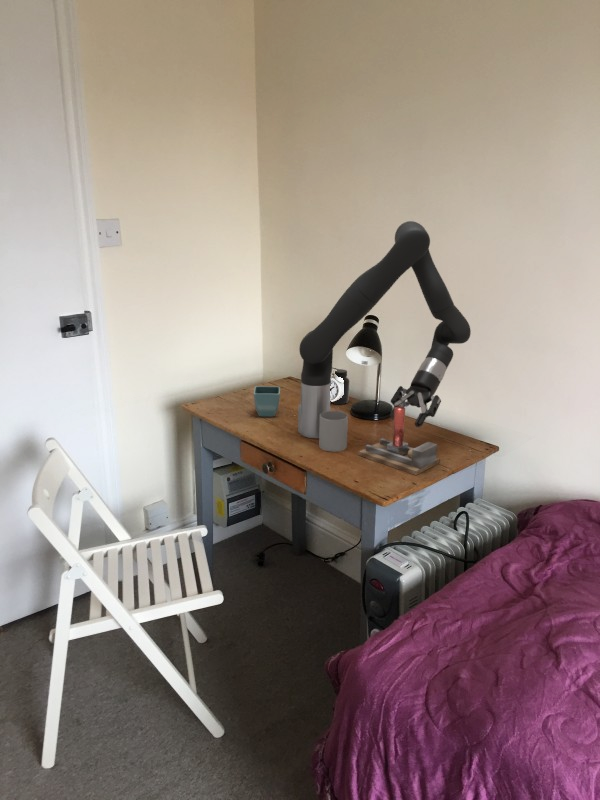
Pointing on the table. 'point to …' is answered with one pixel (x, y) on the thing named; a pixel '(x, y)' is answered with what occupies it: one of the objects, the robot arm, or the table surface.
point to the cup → (333, 431)
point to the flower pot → (266, 400)
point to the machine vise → (409, 462)
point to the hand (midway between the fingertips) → (404, 422)
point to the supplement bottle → (343, 375)
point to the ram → (398, 433)
